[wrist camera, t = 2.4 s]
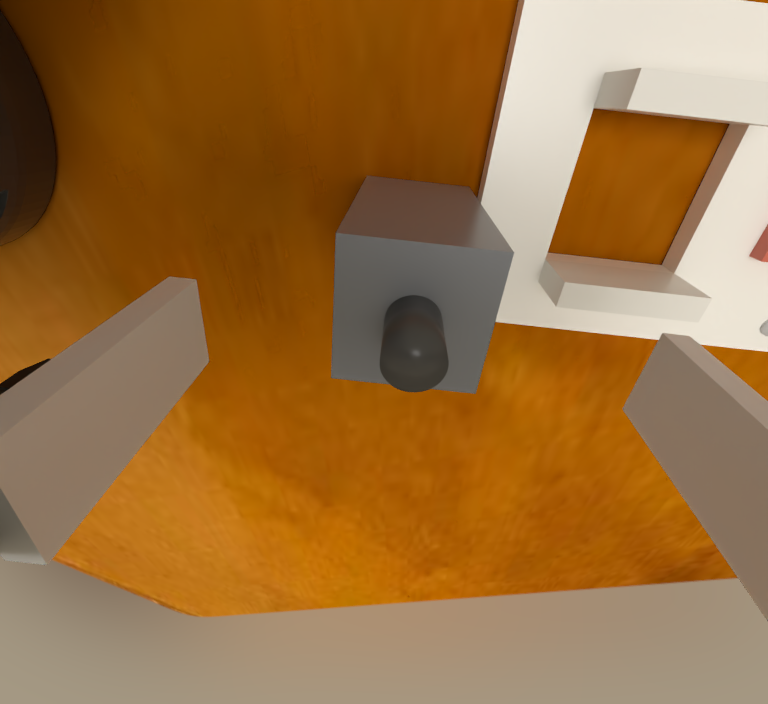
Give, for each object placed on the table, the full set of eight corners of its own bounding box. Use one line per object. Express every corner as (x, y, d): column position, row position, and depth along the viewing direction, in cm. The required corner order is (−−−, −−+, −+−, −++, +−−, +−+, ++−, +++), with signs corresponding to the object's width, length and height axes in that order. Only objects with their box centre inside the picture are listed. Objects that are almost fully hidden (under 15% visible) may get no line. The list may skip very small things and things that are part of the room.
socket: (454, 308, 23) (462, 345, 20) (521, -16, 16) (555, -50, 12) (764, 342, 23) (828, 386, 20) (978, 36, 16) (1143, 18, 12)
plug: (360, 272, 22) (317, 425, 12) (367, 175, 20) (319, 262, 9) (450, 282, 22) (487, 444, 12) (469, 186, 20) (537, 286, 9)
